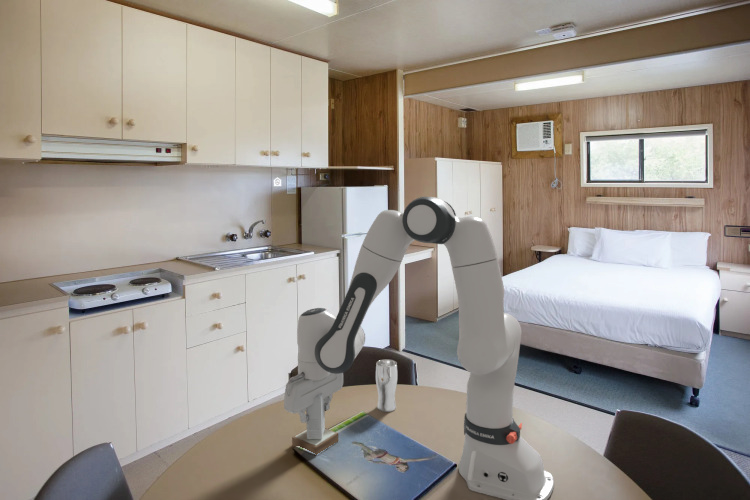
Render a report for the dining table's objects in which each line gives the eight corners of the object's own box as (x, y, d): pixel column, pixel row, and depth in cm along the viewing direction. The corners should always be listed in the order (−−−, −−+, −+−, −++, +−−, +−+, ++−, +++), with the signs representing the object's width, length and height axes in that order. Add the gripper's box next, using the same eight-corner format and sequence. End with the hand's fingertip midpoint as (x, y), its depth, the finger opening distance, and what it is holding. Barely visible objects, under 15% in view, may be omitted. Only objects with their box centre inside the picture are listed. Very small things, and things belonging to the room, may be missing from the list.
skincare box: (310, 428, 133) (309, 388, 131) (325, 429, 132) (324, 388, 131) (306, 439, 126) (305, 397, 125) (321, 440, 126) (321, 397, 125)
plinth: (338, 443, 131) (338, 432, 130) (316, 458, 124) (316, 446, 123) (314, 433, 136) (314, 423, 136) (292, 447, 129) (292, 436, 128)
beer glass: (397, 403, 154) (398, 359, 152) (396, 413, 147) (396, 367, 145) (376, 402, 155) (376, 358, 153) (374, 412, 148) (374, 366, 146)
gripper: (295, 382, 117) (296, 434, 119) (346, 359, 134) (347, 405, 135) (277, 377, 121) (279, 427, 122) (330, 354, 137) (330, 399, 139)
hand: (315, 415), depth 129 cm, fingers closed on skincare box, 7 cm apart
